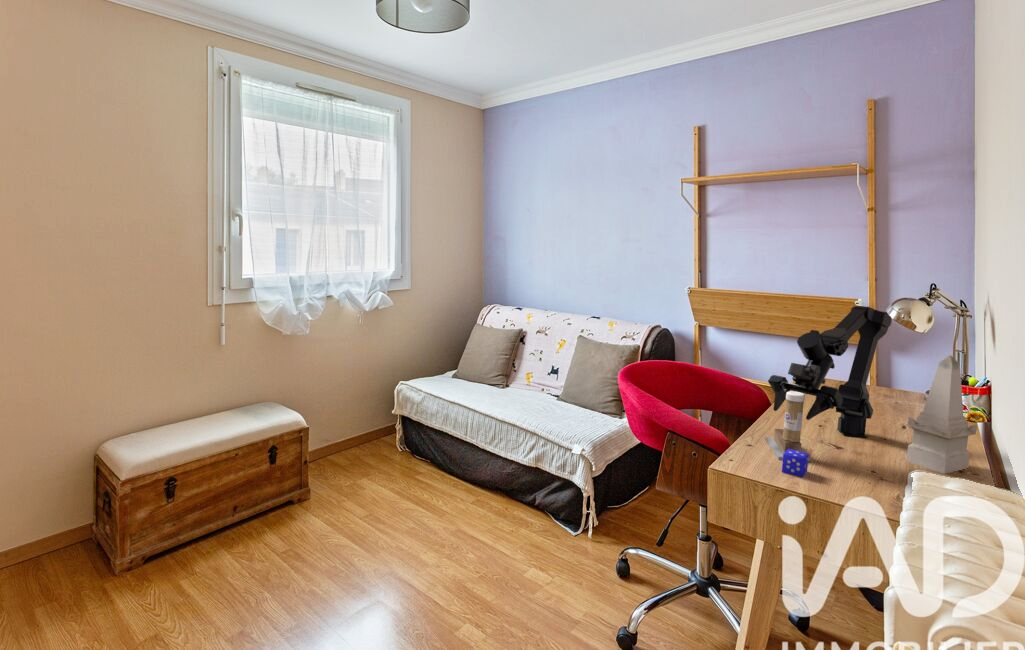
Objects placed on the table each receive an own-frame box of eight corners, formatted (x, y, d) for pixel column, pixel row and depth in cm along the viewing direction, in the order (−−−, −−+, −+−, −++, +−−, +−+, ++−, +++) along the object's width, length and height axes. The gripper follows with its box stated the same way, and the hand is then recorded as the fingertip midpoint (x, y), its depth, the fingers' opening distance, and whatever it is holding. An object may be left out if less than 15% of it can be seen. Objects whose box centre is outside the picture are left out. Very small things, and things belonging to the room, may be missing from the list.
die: (786, 466, 144) (787, 448, 144) (807, 471, 141) (808, 453, 141) (781, 472, 140) (783, 453, 140) (803, 477, 137) (804, 458, 137)
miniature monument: (970, 469, 144) (986, 357, 140) (944, 474, 140) (959, 359, 136) (928, 455, 154) (941, 350, 150) (903, 459, 150) (916, 352, 146)
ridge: (793, 442, 163) (795, 428, 162) (810, 462, 147) (811, 447, 147) (764, 439, 164) (765, 425, 164) (778, 459, 149) (779, 444, 148)
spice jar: (778, 438, 153) (782, 392, 151) (788, 436, 155) (792, 389, 153) (794, 443, 149) (798, 396, 147) (804, 441, 151) (808, 393, 149)
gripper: (774, 347, 158) (748, 389, 154) (841, 358, 143) (815, 405, 138) (787, 370, 164) (762, 412, 159) (853, 384, 148) (828, 430, 144)
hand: (790, 414), depth 150 cm, fingers open, 9 cm apart
